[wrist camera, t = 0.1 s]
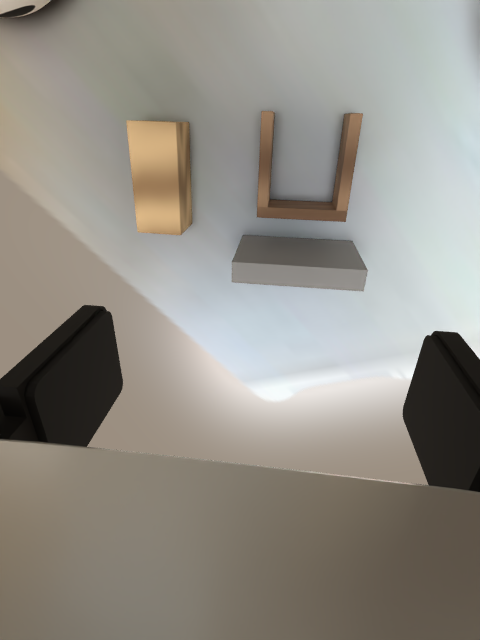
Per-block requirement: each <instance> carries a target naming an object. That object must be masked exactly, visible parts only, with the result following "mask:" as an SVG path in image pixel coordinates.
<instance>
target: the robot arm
mask: <svg viewBox="0 0 480 640" xmlns="http://www.w3.org/2000/svg"><path fill="white" fill-rule="evenodd" d="M122 386H123V379H122V374H121V368H120V361H119V355H118V349H117V344H116V337H115V331H114V325H113V320H112V315H111V313H110V312H109V311H106V309H105V307H103V306H91V305H84V306H82V307H81V308H80V309H79V310H78V311H77V312H75V313H74V314H73V315H72V316H71V317H70V318H69V319H68V320H66V321H65V322H64V323H63V324H62V325H61V326H60V327H59V328H58V329H56V330H55V331H54V332H53V333H52V334H51V335H50V336H48V337H47V338H46V339H45V340H44V341H43V342H42V343H40V344H39V345H38V346H37V347H36V348H35V349H34V350H33V351H31V352H30V353H29V354H28V355H27V356H26V357H25V358H24V359H22V360H21V361H20V362H19V363H18V364H17V365H16V366H15V367H13V368H12V369H11V370H10V371H9V372H8V373H7V374H6V375H4V376H3V377H2V378H1V379H0V640H480V359H479V358H478V357H477V356H476V354H475V353H474V352H473V351H472V349H471V348H470V347H469V346H468V344H467V343H466V342H465V341H464V339H463V338H462V337H461V336H460V334H458V333H456V332H443V331H434V332H433V333H432V335H431V336H430V335H427V336H426V337H425V339H424V341H423V345H422V348H421V351H420V354H419V358H418V361H417V364H416V368H415V371H414V374H413V377H412V381H411V384H410V387H409V390H408V394H407V397H406V400H405V403H404V407H403V419H404V422H405V425H406V427H407V430H408V432H409V435H410V438H411V440H412V443H413V445H414V448H415V451H416V453H417V456H418V458H419V461H420V463H421V466H422V469H423V471H424V474H425V476H426V479H427V482H428V484H429V485H421V484H412V483H404V482H395V481H386V480H377V479H369V478H361V477H352V476H343V475H335V474H326V473H317V472H309V471H301V470H292V469H283V468H274V467H265V466H257V465H247V464H238V463H230V462H221V461H212V460H203V459H194V458H185V457H176V456H167V455H158V454H149V453H139V452H130V451H121V450H110V449H102V448H92V447H87V445H88V444H89V442H90V441H91V439H92V437H93V436H94V434H95V433H96V431H97V429H98V428H99V426H100V425H101V423H102V421H103V420H104V418H105V417H106V415H107V413H108V412H109V410H110V409H111V407H112V405H113V404H114V402H115V400H116V399H117V397H118V396H119V394H120V393H121V390H122Z"/></svg>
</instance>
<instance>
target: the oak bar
mask: <svg viewBox="0 0 480 640" xmlns="http://www.w3.org/2000/svg"><path fill="white" fill-rule="evenodd" d="M126 122H127V132H128V142H129V152H130V161H131V171H132V181H133V191H134V201H135V210H136V220H137V230H138V232H142V233H157V234H172V235H181V234H182V233H183V232H184V231H185V230H186V229H187V228H188V227H189V226H190V225H191V224H192V205H191V171H190V137H189V122H168V121H126Z"/></svg>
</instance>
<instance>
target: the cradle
mask: <svg viewBox="0 0 480 640" xmlns="http://www.w3.org/2000/svg"><path fill="white" fill-rule="evenodd" d="M362 116H363V114H360V113H349V114H344V121H343V128H342V136H341V143H340V150H339V157H338V164H337V171H336V178H335V186H334V193H333V200H332V202H314V201H292V200H270V186H271V169H272V152H273V136H274V119H275V112H273V111H262V113H261V136H260V158H259V181H258V203H257V217H262V218H281V219H301V220H321V221H341V222H346V216H347V210H348V203H349V197H350V191H351V185H352V179H353V172H354V166H355V160H356V154H357V148H358V141H359V135H360V129H361V123H362Z"/></svg>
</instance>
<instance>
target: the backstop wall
mask: <svg viewBox="0 0 480 640" xmlns="http://www.w3.org/2000/svg"><path fill="white" fill-rule="evenodd" d="M367 272H368V270H367V268H366V266H365V264H364V262H363V260H362V259H361V257H360V255H359V253H358V251H357V249H356V247H355V245H354V243H353V241H344V240H326V239H308V238H289V237H271V236H253V235H243V236H242V239H241V241H240V244H239V246H238V248H237V251H236V253H235V256H234V258H233V261H232V282H234V283H249V284H263V285H278V286H293V287H308V288H322V289H337V290H352V291H364V286H365V281H366V276H367Z"/></svg>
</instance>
